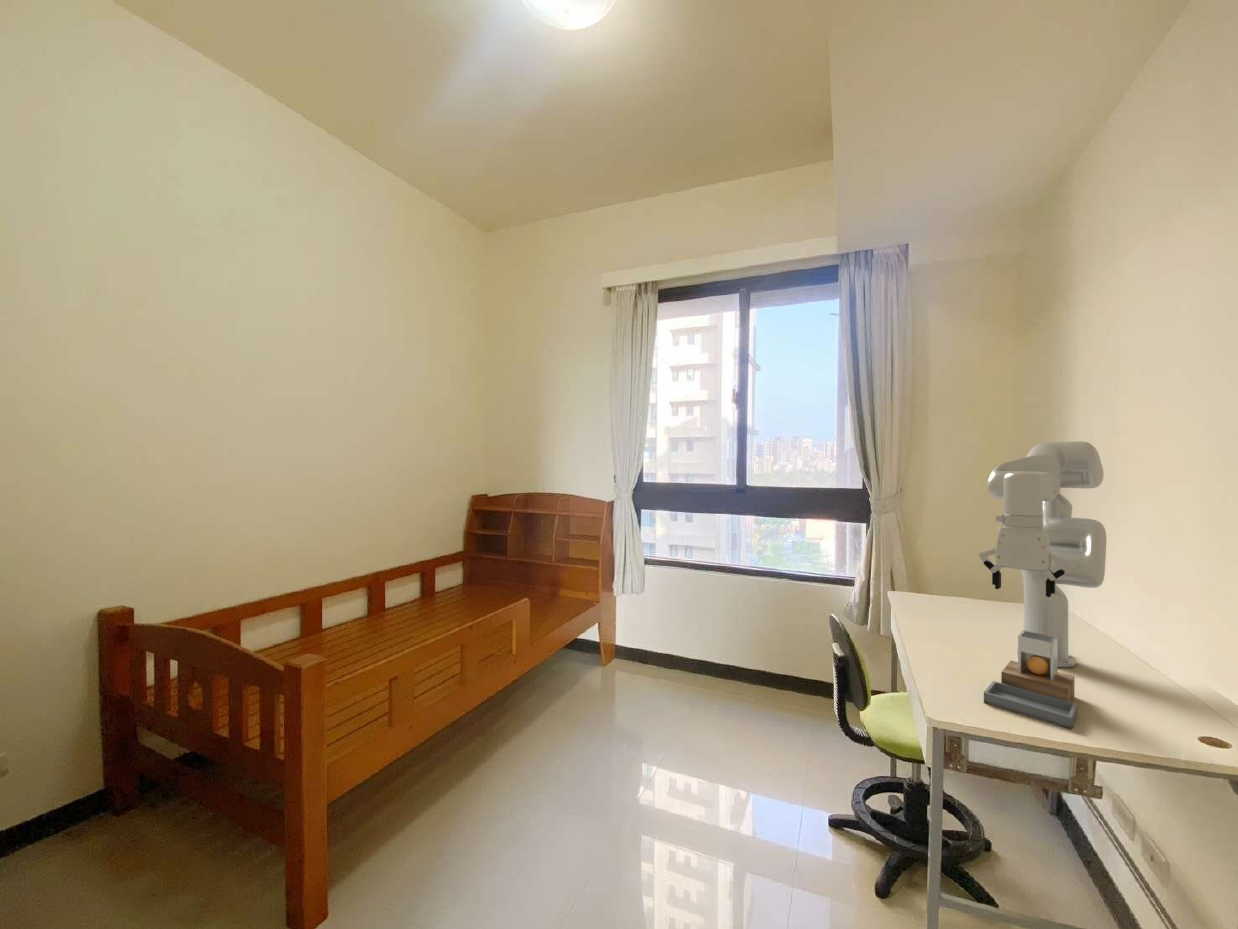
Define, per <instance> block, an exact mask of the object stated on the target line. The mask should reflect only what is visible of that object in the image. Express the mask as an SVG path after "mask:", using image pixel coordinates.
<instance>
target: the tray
mask: <svg viewBox="0 0 1238 929" xmlns="http://www.w3.org/2000/svg"><path fill="white" fill-rule="evenodd" d="M983 703H984V704H987V705H990V706H994V707H997V708H1000V709H1003V710H1006V711H1011V712H1013V713H1016V714H1020V715H1023V716H1026V717H1030V718H1034V719H1035V720H1038V721H1039V720H1040V721H1043V722H1047V723H1050V724H1053V725H1056V726H1060V727H1062V728H1065V729H1069V730H1072V728H1073V727H1074V724H1075V723H1076V722H1075V721H1076V718H1077V716H1078V703H1076V702H1069V701H1065V700H1061V699H1058V698H1054V697H1051V696H1047V695H1043V694H1040V693H1036V692H1032V691H1029V690H1025V689H1021V688H1018V687H1014V686H1010V685H1007V684H1003V683H1001V682H999V681H995V680H993V681H992V682H991V683H990V684H989V685H988V687H987V688H986V689H985V691H984V692H983Z"/></svg>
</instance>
